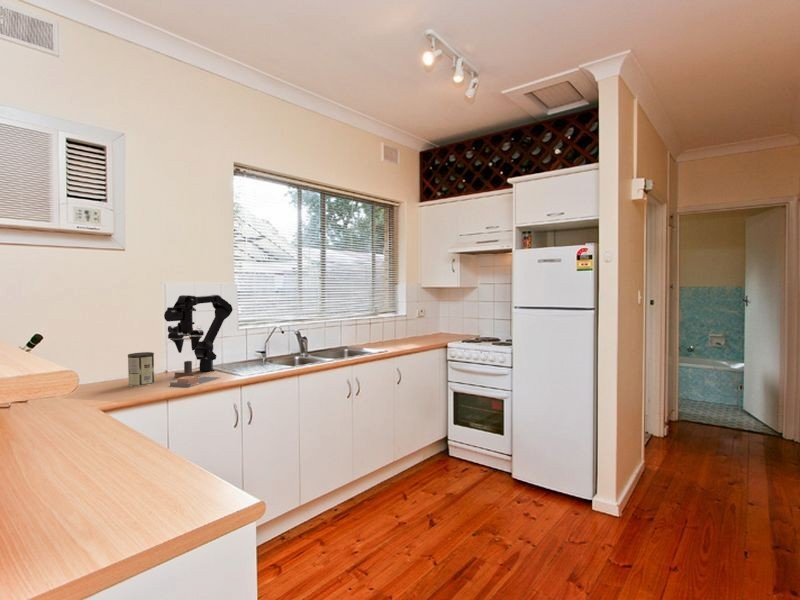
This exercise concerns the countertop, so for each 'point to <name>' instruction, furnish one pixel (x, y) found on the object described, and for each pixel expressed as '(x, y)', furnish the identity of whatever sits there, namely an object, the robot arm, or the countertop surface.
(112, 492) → the countertop surface
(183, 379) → the tile
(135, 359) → the coffee can
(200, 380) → the gray ledged slab
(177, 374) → the beige ledged slab
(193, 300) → the robot arm
